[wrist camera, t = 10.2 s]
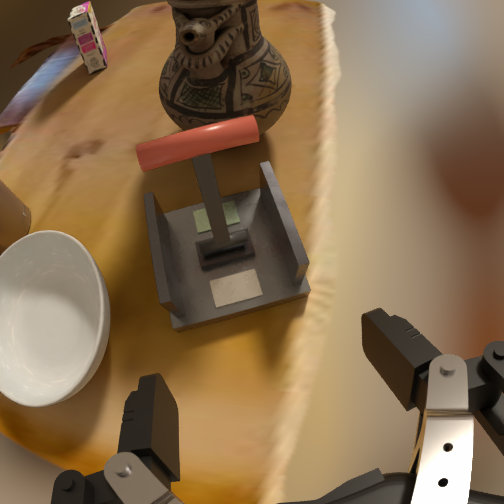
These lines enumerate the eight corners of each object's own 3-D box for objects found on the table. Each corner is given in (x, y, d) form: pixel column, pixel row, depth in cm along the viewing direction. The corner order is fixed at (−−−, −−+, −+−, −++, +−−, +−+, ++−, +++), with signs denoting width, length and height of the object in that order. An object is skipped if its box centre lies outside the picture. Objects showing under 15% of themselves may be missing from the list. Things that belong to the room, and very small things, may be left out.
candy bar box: (108, 67, 57) (88, 10, 42) (89, 75, 56) (66, 20, 41) (107, 49, 61) (90, -1, 46) (90, 57, 60) (70, 8, 45)
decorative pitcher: (196, 84, 51) (174, -38, 28) (294, 92, 49) (303, -41, 26) (152, 175, 42) (87, 21, 19) (277, 190, 40) (287, 5, 17)
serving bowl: (112, 430, 29) (81, 437, 22) (-4, 375, 30) (-36, 368, 24) (147, 263, 37) (125, 238, 31) (31, 244, 39) (4, 222, 32)
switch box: (308, 295, 34) (320, 270, 27) (177, 332, 33) (154, 316, 26) (270, 194, 40) (272, 152, 33) (157, 224, 39) (136, 188, 31)
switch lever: (273, 241, 33) (256, 119, 24) (179, 266, 32) (135, 151, 23) (266, 227, 34) (249, 111, 25) (178, 251, 34) (137, 141, 24)
